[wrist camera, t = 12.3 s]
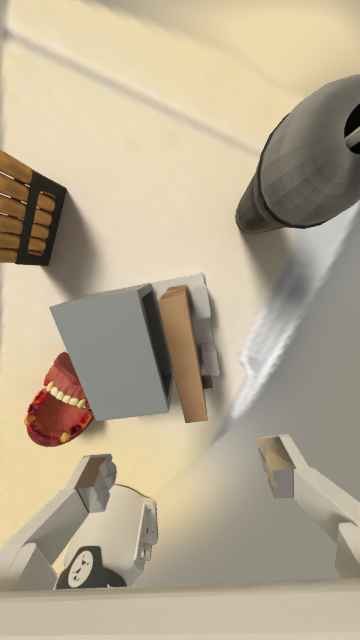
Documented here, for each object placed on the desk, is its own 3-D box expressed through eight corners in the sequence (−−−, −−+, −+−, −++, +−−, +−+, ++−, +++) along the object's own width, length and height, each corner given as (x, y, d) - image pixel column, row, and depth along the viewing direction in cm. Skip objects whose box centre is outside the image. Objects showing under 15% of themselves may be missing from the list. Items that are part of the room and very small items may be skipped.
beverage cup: (292, 218, 23) (801, -4, 4) (244, 256, 25) (441, 229, 6) (262, 166, 22) (844, -597, 2) (213, 210, 23) (333, -44, 4)
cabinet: (217, 369, 30) (227, 405, 22) (118, 383, 32) (96, 421, 24) (202, 272, 25) (208, 276, 18) (88, 295, 27) (49, 307, 20)
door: (194, 282, 25) (198, 293, 16) (208, 368, 29) (218, 419, 20) (168, 287, 26) (157, 301, 16) (186, 371, 29) (185, 423, 20)
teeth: (102, 405, 24) (59, 468, 28) (124, 372, 31) (88, 425, 35) (30, 363, 23) (-3, 435, 27) (71, 339, 30) (41, 398, 34)
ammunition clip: (48, 266, 26) (-60, 267, 15) (35, 260, 26) (-84, 257, 15) (66, 188, 23) (-52, 114, 12) (53, 181, 23) (-81, 98, 12)
